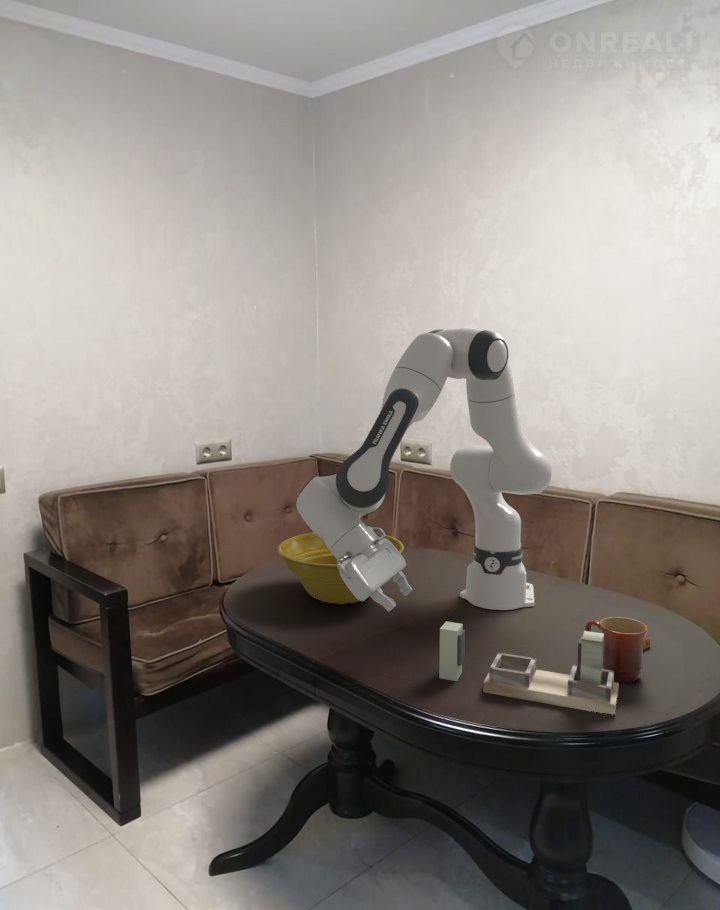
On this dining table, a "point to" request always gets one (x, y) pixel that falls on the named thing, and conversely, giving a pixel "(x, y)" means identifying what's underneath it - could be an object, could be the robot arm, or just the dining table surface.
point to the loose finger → (451, 650)
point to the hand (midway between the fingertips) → (401, 600)
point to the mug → (622, 646)
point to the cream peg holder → (558, 679)
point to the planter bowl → (319, 567)
